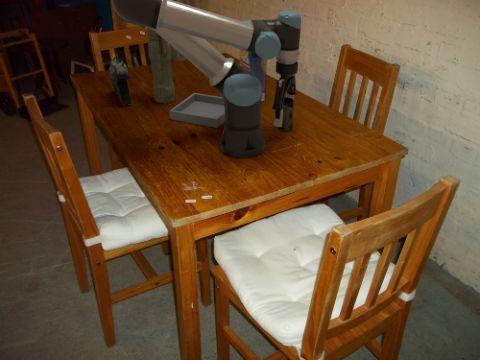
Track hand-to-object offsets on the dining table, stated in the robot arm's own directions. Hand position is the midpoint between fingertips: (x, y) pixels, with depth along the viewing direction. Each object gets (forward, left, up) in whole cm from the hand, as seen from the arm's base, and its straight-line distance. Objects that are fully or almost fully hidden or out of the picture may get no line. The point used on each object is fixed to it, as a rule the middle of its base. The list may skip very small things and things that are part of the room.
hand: (283, 118), depth 151 cm
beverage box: (+23, +21, -4) cm, 31 cm away
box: (0, +32, -3) cm, 32 cm away
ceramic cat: (-1, +71, -4) cm, 71 cm away
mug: (0, 0, -4) cm, 4 cm away
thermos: (+6, +54, -4) cm, 55 cm away
